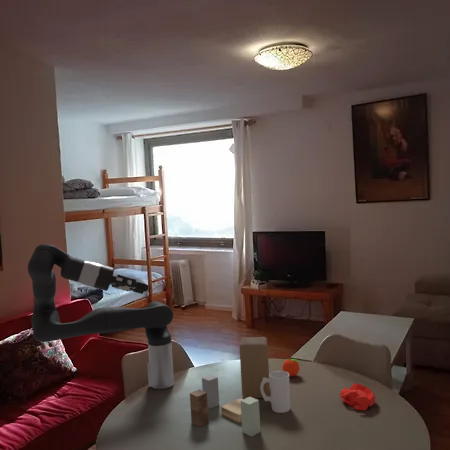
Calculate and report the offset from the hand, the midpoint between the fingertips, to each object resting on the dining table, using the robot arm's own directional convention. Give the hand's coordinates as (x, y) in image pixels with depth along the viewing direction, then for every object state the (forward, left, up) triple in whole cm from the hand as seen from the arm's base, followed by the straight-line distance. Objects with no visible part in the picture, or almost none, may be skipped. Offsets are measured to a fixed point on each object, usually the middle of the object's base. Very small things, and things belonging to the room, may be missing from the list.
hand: (145, 289), depth 146 cm
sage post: (+32, +3, -45) cm, 55 cm away
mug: (+36, +20, -45) cm, 61 cm away
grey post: (+13, +18, -45) cm, 50 cm away
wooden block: (+26, +31, -45) cm, 60 cm away
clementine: (+36, +50, -45) cm, 76 cm away
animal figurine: (+62, +32, -45) cm, 83 cm away
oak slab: (+25, +14, -45) cm, 54 cm away
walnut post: (+14, +5, -45) cm, 47 cm away
